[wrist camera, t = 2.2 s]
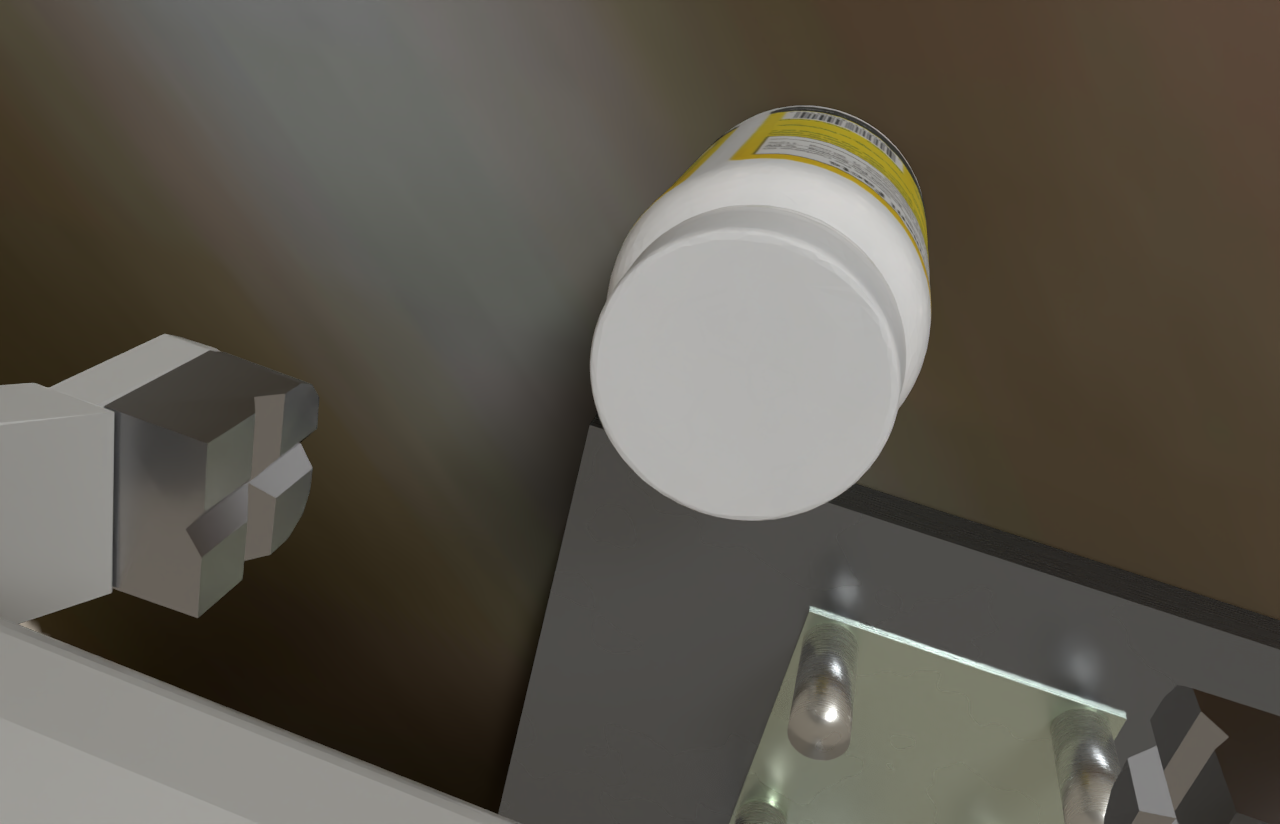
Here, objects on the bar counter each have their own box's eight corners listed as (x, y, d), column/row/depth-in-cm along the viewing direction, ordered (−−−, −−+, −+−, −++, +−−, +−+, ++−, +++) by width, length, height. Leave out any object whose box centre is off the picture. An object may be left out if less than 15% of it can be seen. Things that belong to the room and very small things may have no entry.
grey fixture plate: (512, 788, 29) (450, 915, 25) (605, 402, 23) (544, 490, 20) (1180, 1037, 26) (1222, 1217, 23) (1450, 675, 21) (1564, 832, 17)
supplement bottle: (726, 366, 22) (627, 578, 15) (650, 149, 21) (497, 264, 13) (956, 304, 21) (975, 508, 13) (890, 65, 19) (870, 141, 12)
